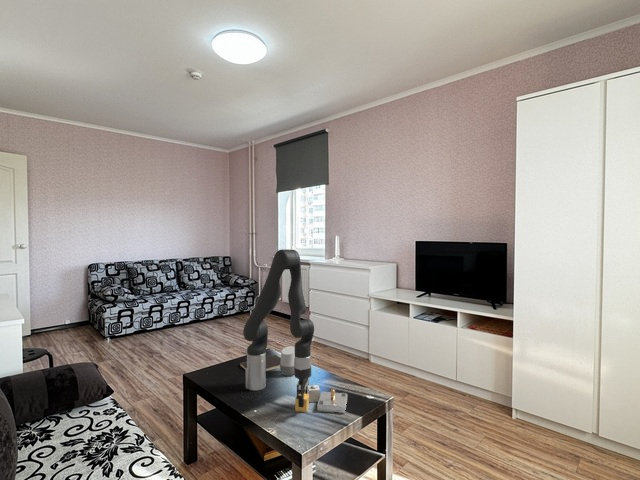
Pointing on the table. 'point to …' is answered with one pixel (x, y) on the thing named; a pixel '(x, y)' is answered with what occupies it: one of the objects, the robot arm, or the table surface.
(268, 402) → the table surface
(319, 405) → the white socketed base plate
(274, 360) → the hardcover book
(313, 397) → the grey cap
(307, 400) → the yellow knobbed cube
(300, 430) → the table surface
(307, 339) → the robot arm
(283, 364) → the smart speaker
